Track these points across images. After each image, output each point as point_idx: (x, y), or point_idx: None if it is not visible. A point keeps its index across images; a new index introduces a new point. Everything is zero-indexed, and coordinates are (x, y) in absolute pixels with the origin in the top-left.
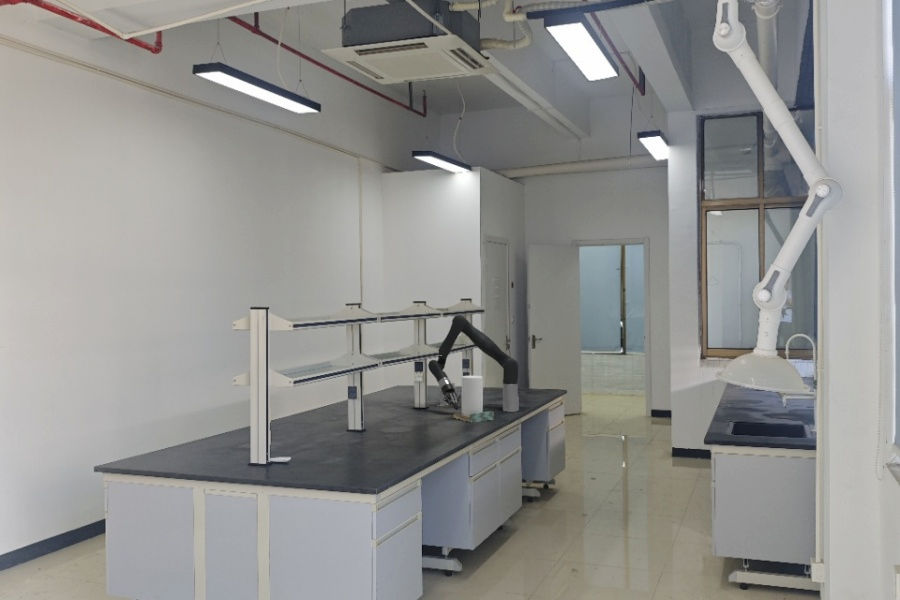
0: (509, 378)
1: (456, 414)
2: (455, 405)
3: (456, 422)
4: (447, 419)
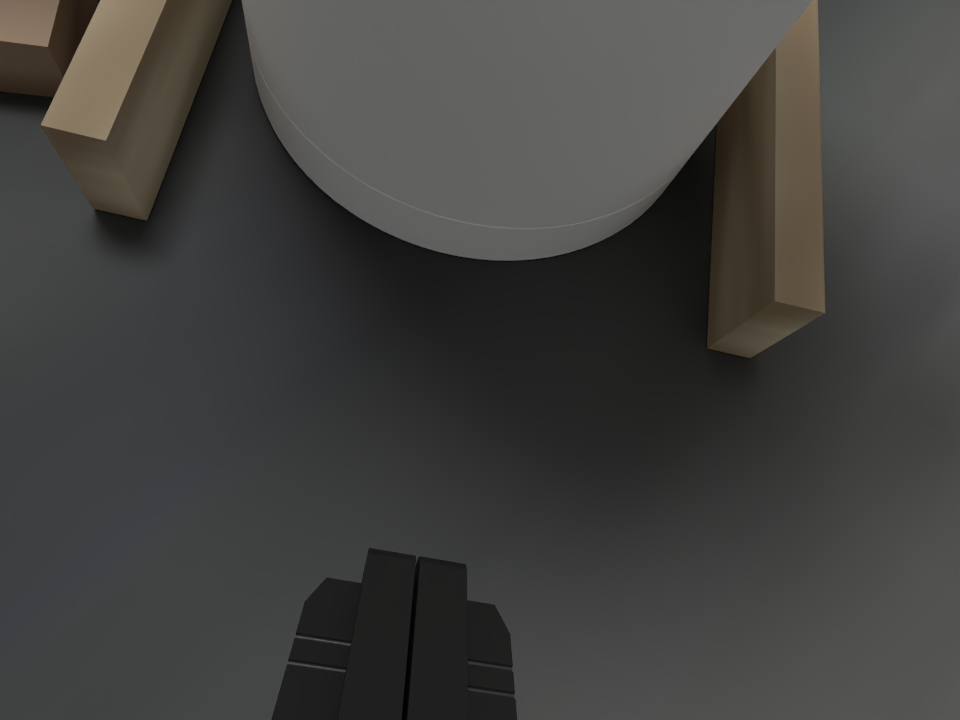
0: None
1: (816, 206)
2: (472, 698)
3: (929, 69)
4: (913, 377)
